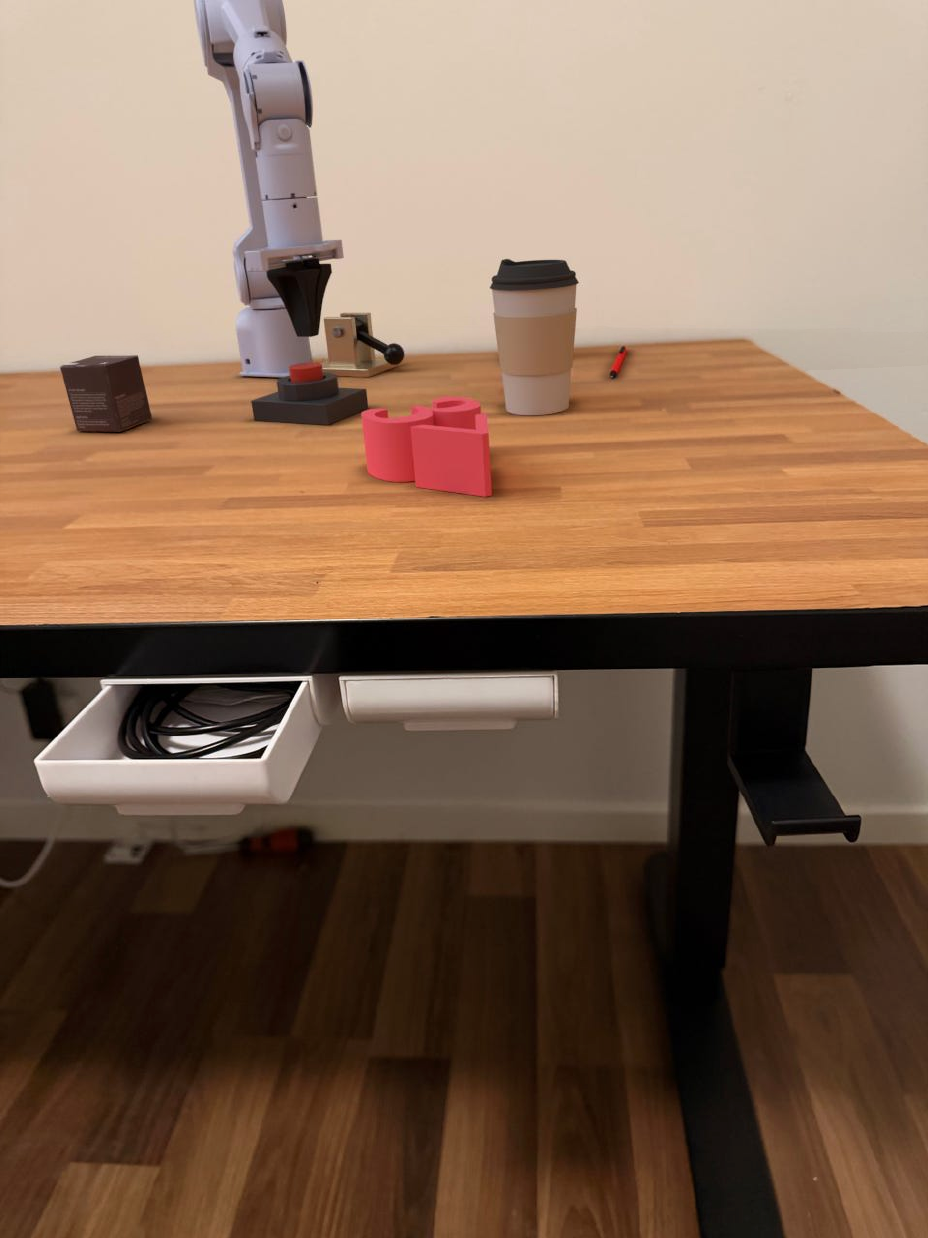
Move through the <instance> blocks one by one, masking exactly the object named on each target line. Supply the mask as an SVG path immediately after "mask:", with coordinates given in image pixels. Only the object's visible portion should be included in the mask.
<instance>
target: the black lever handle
mask: <svg viewBox="0 0 928 1238" xmlns="http://www.w3.org/2000/svg"><path fill="white" fill-rule="evenodd" d="M342 317H349V316H348V315H346V316H342ZM355 325H356V334H357V341H361V342H363V343H365V344H366V345H368V346H370V347H372V348H374V351H377V352H379V353H380V354H383V357H384V358H385V360H386V362H387V363H389V364H391V365H398V364H399V365H400V364H401V363H402V362H403V361H404V359H405V355H406V354H405V350H404V348H403V346H401V345H400V344H398V343H395V342H392V343H389V344H387V343H385V342H383V341H381V340H379V339H378V338H376V337H374V336H373V337H372V336H371V335H369V334H367V333H365V332H363V331H362V328H363V324H362V323H360V322H358V321H357V320H355Z"/></svg>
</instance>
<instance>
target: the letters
mask: <svg viewBox="0 0 928 1238" xmlns="http://www.w3.org/2000/svg"><path fill="white" fill-rule="evenodd" d="M410 410H411V414H410V415H405V416H399V417H397V416H396V417H389V411H388V408H387V409H386V408H370V409H365V410H363V411H361V412H360V415H361V424H362V432H363V433H362V434H363V442H364V443H363V444H364V452H365V461H366V470H367V473H368V474H369V475H370V476H372V477H373V478H376V479H379V480H382V481H386V482H391V483H392V482H393V483H394V482H395V483H407V482H415V487H416V488H420V489H429V490H434V491H435V490H436V491H441V492H448V493H449V492H450V493H455V494H464V495H469V496H476V497H482V498H483V497H484V498H485V497H486V498H487V497H491V496H492V495H493V493H492V473H491V453H490V451H491V450H490V432H489V423H488V413H487V412H482V407H481V402H479V401H477V400H475V399H473V398H468V397H463V396H462V397H461V396H442V397H441V396H440V397H436V398H434V399H432V407H426V406H424V405H421V404H417V405H412V406H410Z"/></svg>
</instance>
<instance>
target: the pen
mask: <svg viewBox="0 0 928 1238" xmlns="http://www.w3.org/2000/svg"><path fill="white" fill-rule="evenodd" d="M627 352H628V349H627V347H626V346H624V345H622V346H621V347H620V350H619V352H618V354H617V356H616V359H615V361H614V363H613V365H612V368H611V369H610V372H609V376H610V377H611V378H612V379H613V378H616V377H617V376H618V373H619V371H620V369H621V366H622V364H623V361H624V360H625V357H626V355H627Z"/></svg>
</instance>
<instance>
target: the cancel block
mask: <svg viewBox="0 0 928 1238" xmlns="http://www.w3.org/2000/svg"><path fill="white" fill-rule="evenodd" d="M323 377H324V379H321V380H316V381H310V382H291V379H290V376H286V377H283V378H282V377H279V378H278V379H277V381H276V387H277V391H275V392H272V393H269V394H266V395H264V396H261V397H258V398H255V399H252V400H251V401H250V403H251V408H252V409H251V410H252V415H253V421H255V422H256V421H257V422H270V423H271V422H273V423H274V422H275V423H288V424H302V425H303V424H304V425H317V426H319V425H320V426H330V425H332V424H334V423H337V422H339V421H342V420H343V419H346V418H349V417H352V416H353V415H356V414H358V413H361V412H363V411H366V410H369V402H368V391H367V388H356V387H339V380H338V376H337V375H336V374H332V373H323Z"/></svg>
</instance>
